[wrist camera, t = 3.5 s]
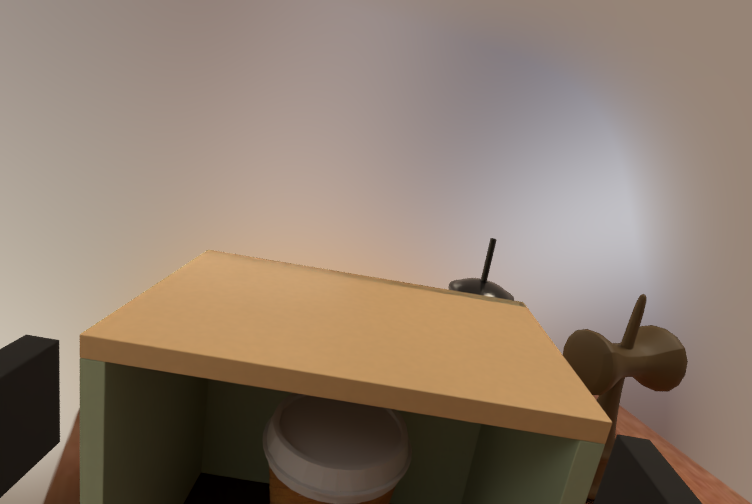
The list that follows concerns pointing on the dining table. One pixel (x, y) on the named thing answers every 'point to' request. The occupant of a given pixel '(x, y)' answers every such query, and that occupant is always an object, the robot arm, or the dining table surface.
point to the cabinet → (329, 384)
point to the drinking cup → (482, 281)
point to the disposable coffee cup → (334, 452)
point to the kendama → (624, 368)
